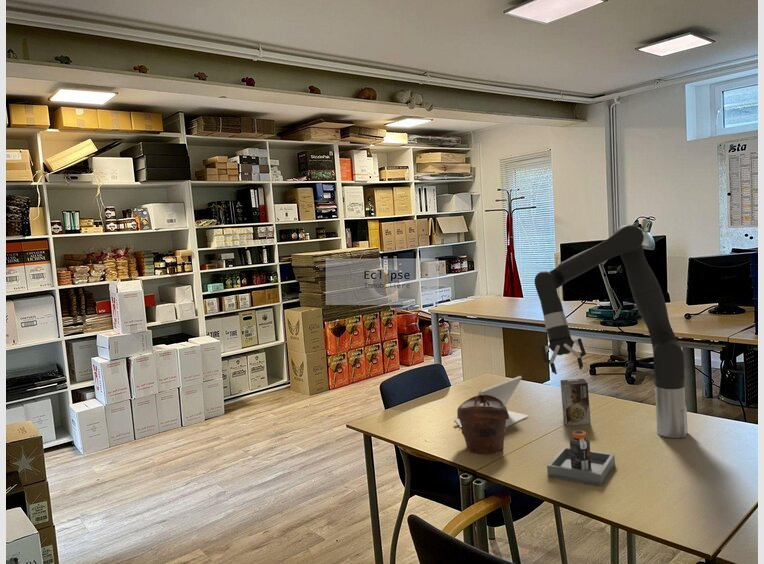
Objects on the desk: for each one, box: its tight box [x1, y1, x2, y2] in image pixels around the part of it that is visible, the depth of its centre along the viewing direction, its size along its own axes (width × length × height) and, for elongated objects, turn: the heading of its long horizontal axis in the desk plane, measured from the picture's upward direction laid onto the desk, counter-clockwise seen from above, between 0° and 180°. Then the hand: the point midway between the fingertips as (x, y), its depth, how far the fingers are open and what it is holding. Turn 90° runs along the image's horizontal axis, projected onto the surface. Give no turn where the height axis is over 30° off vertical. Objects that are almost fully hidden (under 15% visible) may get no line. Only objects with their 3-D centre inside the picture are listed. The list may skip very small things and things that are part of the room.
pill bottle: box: [569, 429, 591, 470], centre depth 179 cm, size 6×6×11 cm
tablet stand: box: [453, 375, 529, 428], centre depth 230 cm, size 18×25×17 cm
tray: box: [546, 446, 616, 487], centre depth 179 cm, size 16×16×4 cm
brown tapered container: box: [456, 394, 509, 455], centre depth 205 cm, size 18×20×18 cm
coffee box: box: [560, 378, 592, 426], centre depth 220 cm, size 9×6×16 cm
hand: (568, 371), depth 200 cm, fingers open, 8 cm apart
